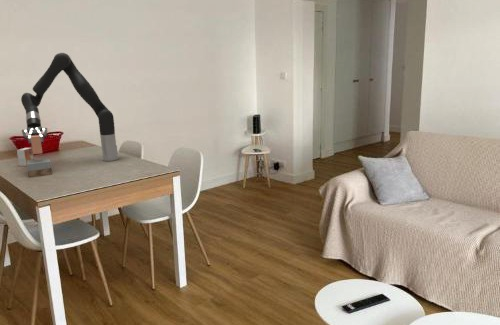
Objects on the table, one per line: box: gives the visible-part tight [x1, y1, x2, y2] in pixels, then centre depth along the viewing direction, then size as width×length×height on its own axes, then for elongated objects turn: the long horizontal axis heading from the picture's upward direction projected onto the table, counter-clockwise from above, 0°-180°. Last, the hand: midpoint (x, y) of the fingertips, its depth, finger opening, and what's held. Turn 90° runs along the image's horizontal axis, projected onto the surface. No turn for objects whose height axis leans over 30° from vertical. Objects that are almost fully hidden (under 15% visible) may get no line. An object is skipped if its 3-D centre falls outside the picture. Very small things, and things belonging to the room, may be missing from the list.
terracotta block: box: [30, 135, 43, 155], centre depth 246 cm, size 5×5×10 cm
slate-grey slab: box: [26, 157, 52, 172], centre depth 249 cm, size 12×12×4 cm
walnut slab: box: [27, 167, 53, 178], centre depth 250 cm, size 12×12×4 cm
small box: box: [16, 147, 35, 167], centre depth 274 cm, size 8×6×10 cm
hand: (36, 143), depth 245 cm, fingers closed on terracotta block, 5 cm apart
